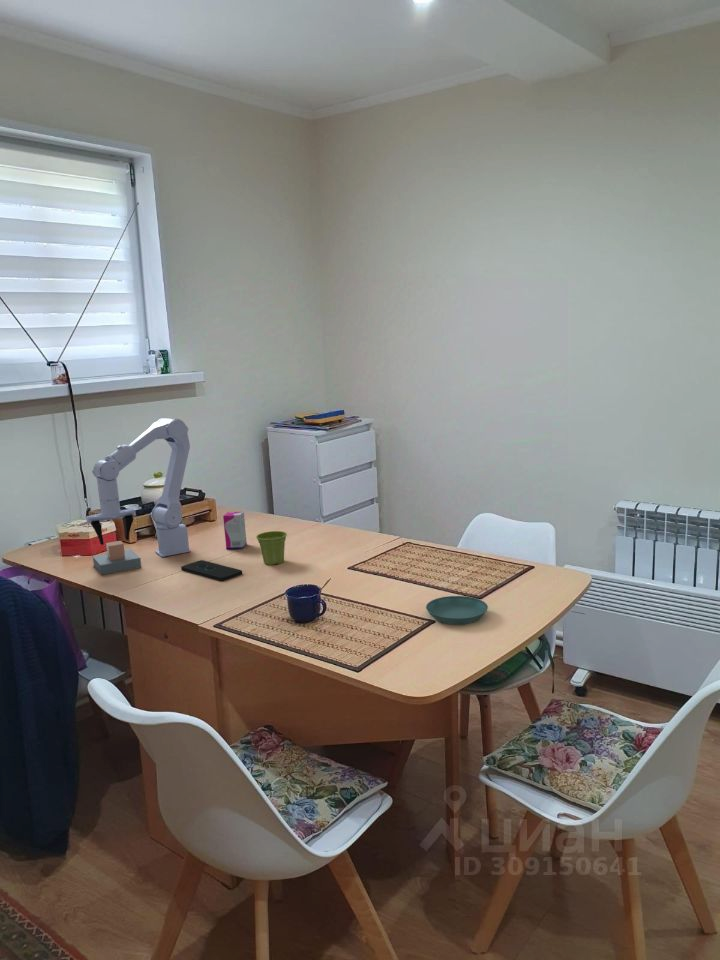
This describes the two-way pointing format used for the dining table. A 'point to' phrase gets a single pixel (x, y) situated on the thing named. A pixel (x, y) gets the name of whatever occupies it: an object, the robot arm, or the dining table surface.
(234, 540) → the supplement box
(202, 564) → the smart home device
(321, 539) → the dining table surface
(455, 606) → the saucer
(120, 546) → the pale pink cube
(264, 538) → the plant pot
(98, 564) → the base board
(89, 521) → the robot arm
